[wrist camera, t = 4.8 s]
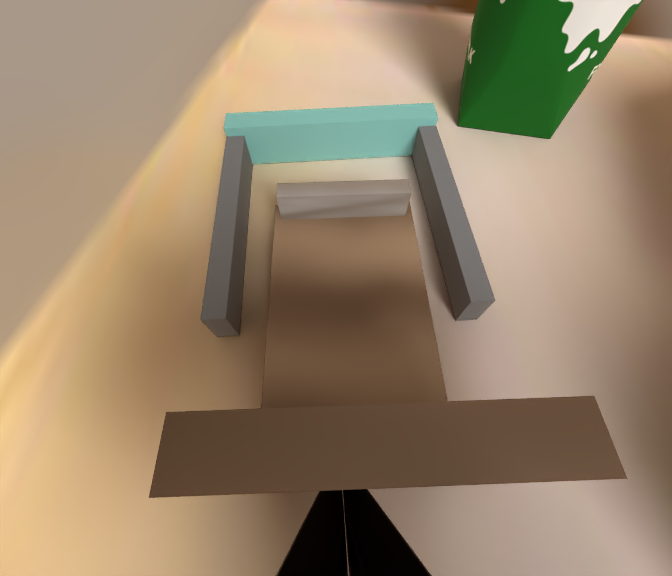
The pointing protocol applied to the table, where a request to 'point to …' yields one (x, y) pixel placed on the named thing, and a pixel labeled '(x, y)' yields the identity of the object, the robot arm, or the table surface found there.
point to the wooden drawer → (366, 376)
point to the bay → (332, 144)
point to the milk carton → (535, 60)
